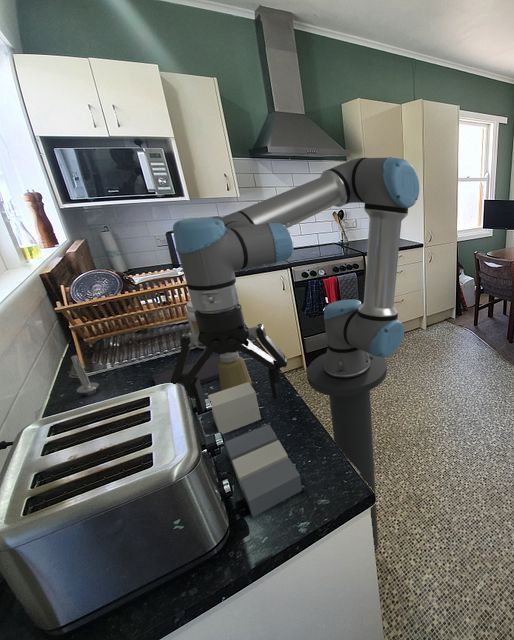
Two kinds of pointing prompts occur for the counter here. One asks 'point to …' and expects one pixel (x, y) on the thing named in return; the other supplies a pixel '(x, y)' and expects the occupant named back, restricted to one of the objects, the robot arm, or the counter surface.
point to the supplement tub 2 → (193, 323)
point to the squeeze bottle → (232, 371)
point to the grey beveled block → (271, 486)
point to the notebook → (204, 374)
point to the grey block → (250, 442)
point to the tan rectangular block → (259, 460)
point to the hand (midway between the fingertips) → (240, 401)
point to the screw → (84, 379)
